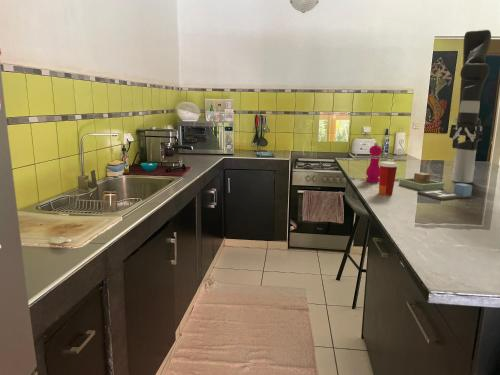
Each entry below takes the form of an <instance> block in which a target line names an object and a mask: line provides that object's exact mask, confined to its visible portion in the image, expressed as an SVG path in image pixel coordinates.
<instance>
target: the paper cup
mask: <svg viewBox="0 0 500 375" xmlns="http://www.w3.org/2000/svg"><path fill="white" fill-rule="evenodd" d="M379 167H380V175H379V177H378V178H379V182H378V194H379V195H382V196H392V195H393V191H394V186H395V181H396V180H395V179H396V174H397V169H398V164H397V162H393V161H380V162H379Z"/></svg>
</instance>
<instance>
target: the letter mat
mask: <svg viewBox="0 0 500 375" xmlns="http://www.w3.org/2000/svg"><path fill="white" fill-rule="evenodd" d="M416 193H417V195H421V196H425V197H429V198H431V199H435V200H439V201H449V200H457V199H459V200H460V199H463V198H464V197H463V196H462V195H458V194H454V193H453V192H450V191H446V190H443V189H440V190H427V191H419V190H417V192H416Z"/></svg>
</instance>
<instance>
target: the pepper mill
mask: <svg viewBox="0 0 500 375" xmlns="http://www.w3.org/2000/svg"><path fill="white" fill-rule="evenodd" d="M368 152H369V154H370V155H369V159H370V163H369V165H368V167H367V168H366V170H365V171H366V172H365V174H366V176H367V177H366V180H365V181H366V182H367V181H368V182H367V183H372V182H378V183H379V175H380V165H379V164H380V162H379V161H380V159H381V154H382V153H383V150H382V147H381V146H379V143H378V142H375V143H374V145H372V146H370V148H369V150H368Z"/></svg>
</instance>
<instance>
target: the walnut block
mask: <svg viewBox="0 0 500 375" xmlns="http://www.w3.org/2000/svg"><path fill="white" fill-rule="evenodd" d="M413 178H414V182H415V183H419V184H429V182H430V180H431V174H430V173H425V172H414V175H413Z"/></svg>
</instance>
